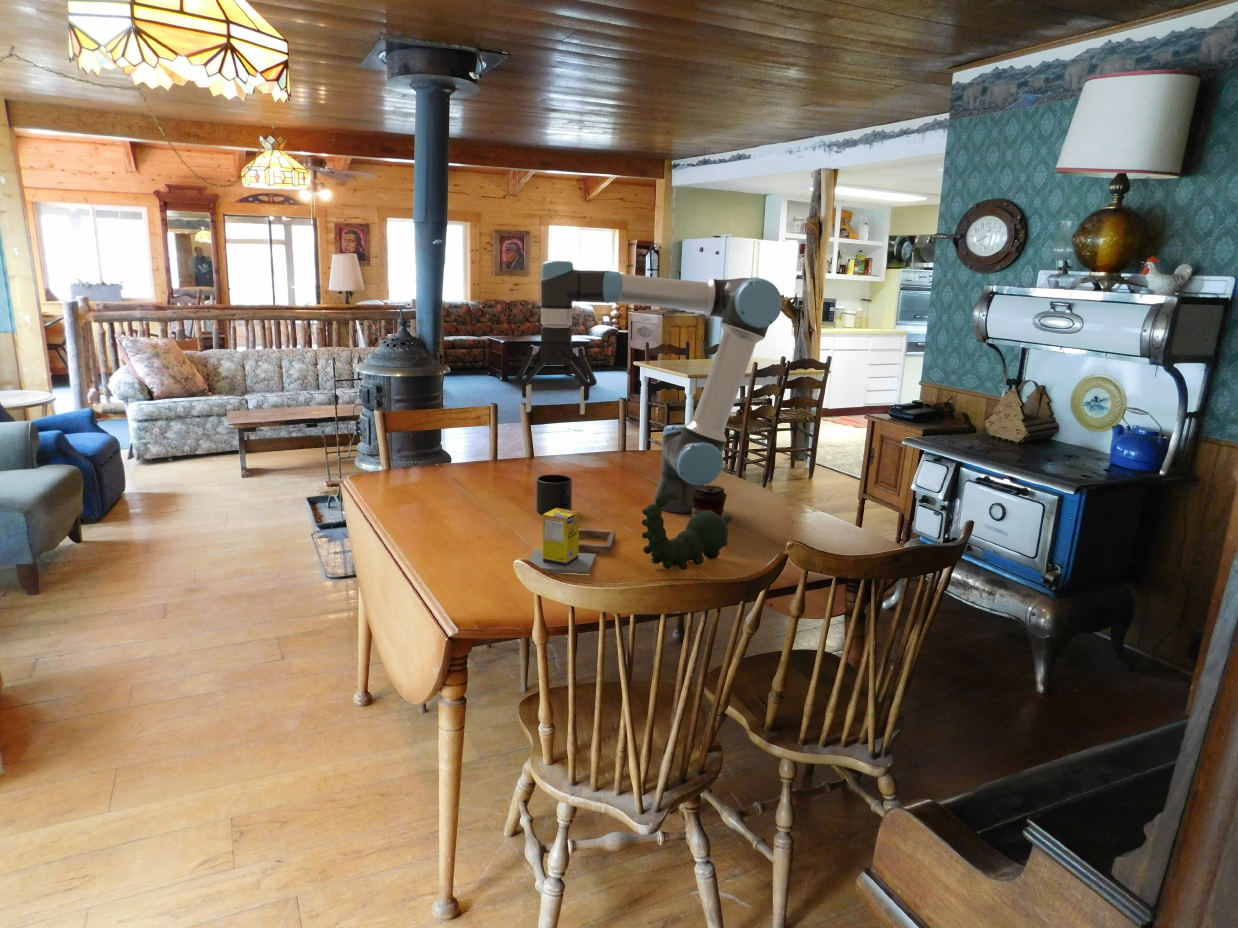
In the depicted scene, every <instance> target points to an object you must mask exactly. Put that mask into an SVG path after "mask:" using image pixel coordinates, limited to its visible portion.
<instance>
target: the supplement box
mask: <svg viewBox="0 0 1238 928" xmlns="http://www.w3.org/2000/svg"><path fill="white" fill-rule="evenodd" d="M579 529H580V511H578V510H565V509H559V508H555V509H553V510H551V511H549V512H547V513H545V514H542V551H543V562H549V563H554V564H560V565H565V566H567V565H568V564H570V563H571V562H573V561H574V560H576V559H577V558H578V548H579V543H580V542H579V541H580V540H579V539H580V538H579Z"/></svg>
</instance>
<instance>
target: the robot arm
mask: <svg viewBox="0 0 1238 928" xmlns="http://www.w3.org/2000/svg"><path fill="white" fill-rule="evenodd" d="M540 299H541V301H540V302H541V303H540V304H541V305H540V324H541V325H543V326H542V327H541V328H540V345H539V346H537V345H536V346H535V345H534V344H530V345H528V346H527V351H526V355H525V357H524V360H523V362H522V364H521V365H520V368H519V370H518V372H517V373H516V376H515V378H514V381H515V383H518V384H521V385H520V386H521V394H522V395H521V397H522V399H525V412H526V413H530V412H531V411H532V384H529V383H530V382H531V381H532V380H533V378H534V377H535V376H536V375H537V374H538V372H539V371H540V370H541V369H542V368H543V367H544V366H545V365H546V363H547V364H548V365H551V366H552V365H557V366H562V365H565V366H566V367H567V368H568V369H569V370H570V372H571V373H572V374H573V375H574V376H575V378H576V379H577V380H578V381H579V383H580V384H581V385H582V386H581V387H580V398H579V399H580V401H579V402H580V406H579V415H584V414H585V412H586V411H585V410H586V402H588V401H590V400H589V399H590V388H591V387H594V386H595V385H597V384H598V381H597V378H596V377H595V374H594V372H593V370H592V368H591V366H590V363H589V361H588V359H587V357H586V351H585V347H583V346H579V347H573V345H572V344H573V343H572V341H573V340H572V338H573V337H572V334H573V333H572V332H573V330H572V327H570V326H572V324H573V302H576V303H579V302H580V303H603V304H604V303H605V304H611V303H612V304H625V305H633V306H645V307H655V308H666V309H675V310H685V311H694V312H703V313H704V315H706V316H707V317H708V316H709V317H716V318H721V322H720V326H721V328H722V331H723V333H722V337H721V339H720V343H719V344H718V347H717V351H716V354H715V356H714V359H713V361H712V364H711V366H710V370H709V374H708V376H707V378H706V380H705V381H706V382H705V383H704V387H703V390H702V393H701V395H700V397H699V401H698V403H697V406H696V409H695V412H694V414H693V417H692V420H691V421H689V422H687V423H685V424H670V425H669V424H668V425H666V426H664V428H663V432H662V437H661V438H662V450H661V451H662V453H661V454H662V455H661V474H660V475H661V477H660V481H659V484H658V485H657V488H656V491H655V494H654V498H653V504H656V503H655V500H656V498H657V496H658V495H660V494H661V493H663V492H673V493H674V494H676V496H677V497H678V500H677V501H676V500H674V499H672V500H670V501H669V502H668V503H667V504H666V505H665V506H663V507H661V511H665V512H672V513H678V514H692V506H693V500H692V492H693V491H694V490H695V487H696V486H707V485H708V484H710V483H713V482H714V481H715V480H716V479H717V478H718V477H719V476H720V474H721V472H722V471H723V466H724V457H723V455H722V454H723V453H724V452H723V451H724V449H725V446H726V443H727V442H728V440H727V438H726V437H727V436H725V429H726V426H727V424H728V421H729V418H730V416H731V413H732V410H733V408H734V404H735V402H736V399H737V397H738V394H739V391H740V389H741V385H742V382H743V379H744V377H745V375H746V372H747V369H748V367H749V363H750V361H751V358H752V356H753V354H754V353H753V352H754V351H755V347H756V344H757V343H759V342H760V341H762V340H765V338H766V335H767V333H768V329H769V327H770V325H772V324H773V323H774V322H775V321H776V320H777V319H778V318H779V316H780V314H781V312H782V307H783V301H782V300H783V299H782V296H781V293H780V291H779V289H778V287H777V286H776V285H775V284H774V283H772V282H771V281H769V280H767V279H764V278H760V277H757V276H756V277H740V278H739V277H738V278H730V279H717V278H716V279H715V278H710V279H708V280H707V281H697V280H685V279H677V278H676V279H675V278H668V277H667V278H665V277H655V276H648V275H638V274H637V275H635V274H627V273H620V271H613V270H612V271H611V270H580V269H578V270H577V269H574V263H573V262H572V261H567V260H566V261H565V260H564V261H563V260H559V261H558V260H545V261H544V262H543V263H542V265H541V277H540ZM538 352H539V354H540V356H541V357H542V358H541V359H540V360H539V361H538V362H537V364H536V365H535V366H534V367H533V368H532V369H531V370H530V372H529V373H528V374H527V375H526V377H524V376H525V373H526V371H527V369H528V367H529V365H530V363H531V362H532V360H533V357H534V355H536V354H537V353H538ZM573 354H575V355H576V357H578V359H579V360H580V361H579V362H580V363H581V365H582V368H583V370H584V372H585V374H586V377H587V378H586V377H585V375H584V374H583V373H582V371H580V369H579V368H578V367H577V365H576V364H575V363H574V361H573V360H572V358H571V356H572V355H573Z"/></svg>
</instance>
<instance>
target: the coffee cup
mask: <svg viewBox="0 0 1238 928" xmlns="http://www.w3.org/2000/svg"><path fill="white" fill-rule="evenodd" d="M726 499H727V493H725V488H724V487H722V486H717V485H708V484H706V485H704V486H696V487H695V490H694V491H693V492H692V500H693V506H692V513H691V514H692V515H691V516H692V517H693V516H695V515H696V514H698V513H701V512H713V513H716V514H718V515H719V516H720V517H724V511H725V509H724V508H725V504H726ZM692 517H691V518H692Z"/></svg>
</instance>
